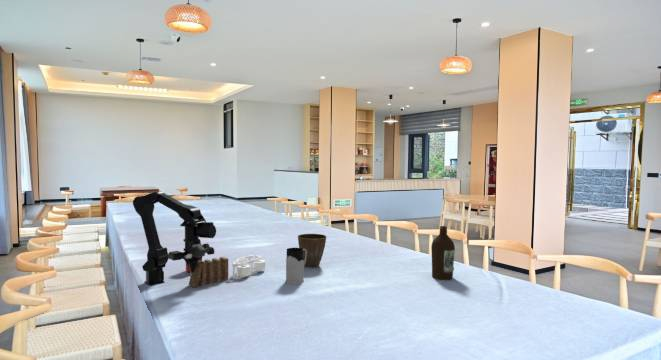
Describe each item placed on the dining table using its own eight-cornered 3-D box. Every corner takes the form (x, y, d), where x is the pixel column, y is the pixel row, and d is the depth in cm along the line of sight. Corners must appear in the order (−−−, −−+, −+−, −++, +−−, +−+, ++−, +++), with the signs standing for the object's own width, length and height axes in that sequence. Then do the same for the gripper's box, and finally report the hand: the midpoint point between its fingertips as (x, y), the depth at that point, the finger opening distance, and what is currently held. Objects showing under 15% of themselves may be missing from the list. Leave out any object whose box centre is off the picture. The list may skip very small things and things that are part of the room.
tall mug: (281, 283, 182) (281, 250, 182) (298, 275, 195) (298, 244, 194) (297, 286, 178) (297, 252, 178) (313, 278, 191) (314, 246, 190)
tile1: (193, 286, 174) (199, 263, 175) (187, 284, 177) (193, 261, 179) (197, 287, 175) (203, 264, 177) (191, 284, 178) (197, 262, 180)
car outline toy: (241, 281, 185) (241, 265, 184) (224, 277, 190) (224, 262, 190) (269, 271, 202) (269, 257, 202) (252, 268, 208) (252, 254, 207)
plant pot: (327, 263, 219) (327, 234, 218) (324, 270, 204) (324, 239, 203) (300, 262, 220) (300, 233, 219) (295, 269, 205) (295, 238, 205)
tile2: (201, 286, 176) (202, 263, 176) (195, 283, 180) (196, 261, 180) (205, 285, 178) (206, 262, 178) (199, 283, 181) (201, 260, 181)
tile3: (209, 284, 179) (209, 262, 179) (203, 282, 182) (203, 260, 182) (213, 283, 180) (213, 261, 180) (207, 281, 184) (207, 259, 184)
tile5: (224, 281, 184) (224, 259, 184) (218, 278, 188) (218, 257, 188) (228, 280, 186) (228, 258, 185) (222, 278, 189) (222, 256, 189)
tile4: (217, 282, 182) (217, 260, 181) (211, 280, 185) (211, 258, 185) (220, 281, 183) (220, 259, 183) (215, 279, 187) (215, 258, 186)
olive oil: (425, 277, 193) (427, 225, 192) (441, 274, 199) (442, 223, 198) (443, 283, 185) (444, 228, 184) (458, 279, 190) (460, 226, 189)
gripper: (179, 242, 163) (179, 280, 163) (220, 236, 176) (221, 272, 177) (167, 238, 170) (167, 275, 171) (208, 233, 184) (208, 267, 184)
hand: (192, 272), depth 176 cm, fingers closed
